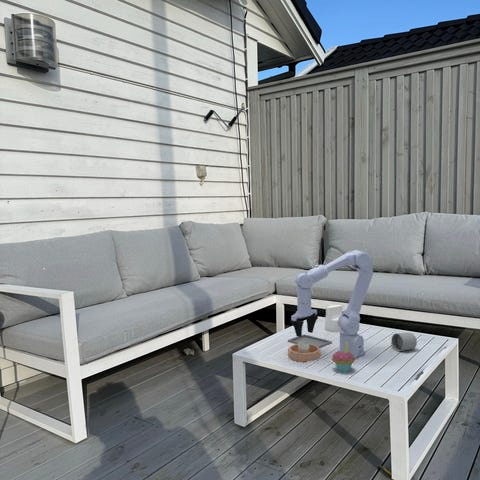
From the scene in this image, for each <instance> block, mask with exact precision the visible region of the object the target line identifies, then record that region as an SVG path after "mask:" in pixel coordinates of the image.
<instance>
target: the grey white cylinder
mask: <svg viewBox="0 0 480 480" xmlns="http://www.w3.org/2000/svg"><path fill="white" fill-rule="evenodd" d="M342 314H343V305H342V304H334V305H333V304H332V305H329V306H326V307H325V317H324V319H325V321H324V329H325V331H327V332H330V333H340V329H341V328H340V327H339V325H338V319H339V318H340V317H341V316H342Z"/></svg>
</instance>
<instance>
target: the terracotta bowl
mask: <svg viewBox="0 0 480 480" xmlns="http://www.w3.org/2000/svg"><path fill="white" fill-rule="evenodd" d="M287 355H288V359H290V360H292V361H295V362H298V363H299V362H300V363H308V362H309V361H315V360H317V359H319V358H320V357H321V348H319V347H318V346H316V345H313V344H309V353H299V352H298V344H294V343H293V344H292V345H289V346H288V348H287Z"/></svg>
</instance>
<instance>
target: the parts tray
mask: <svg viewBox="0 0 480 480" xmlns="http://www.w3.org/2000/svg"><path fill="white" fill-rule="evenodd" d="M301 341H306V342H309V344H313V345H316V346H318V347H319V348H320V349H321V348H324V347H327V346H329V345H331V344H333V340H328V339H325V338H321V337H316V336H313V335H312V336H311V335H310V334H302V335H301V337H298V336H296V337H292V338H290V339H287V342H288V343H291V344H293V345H294V344H298V342H301Z"/></svg>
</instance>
